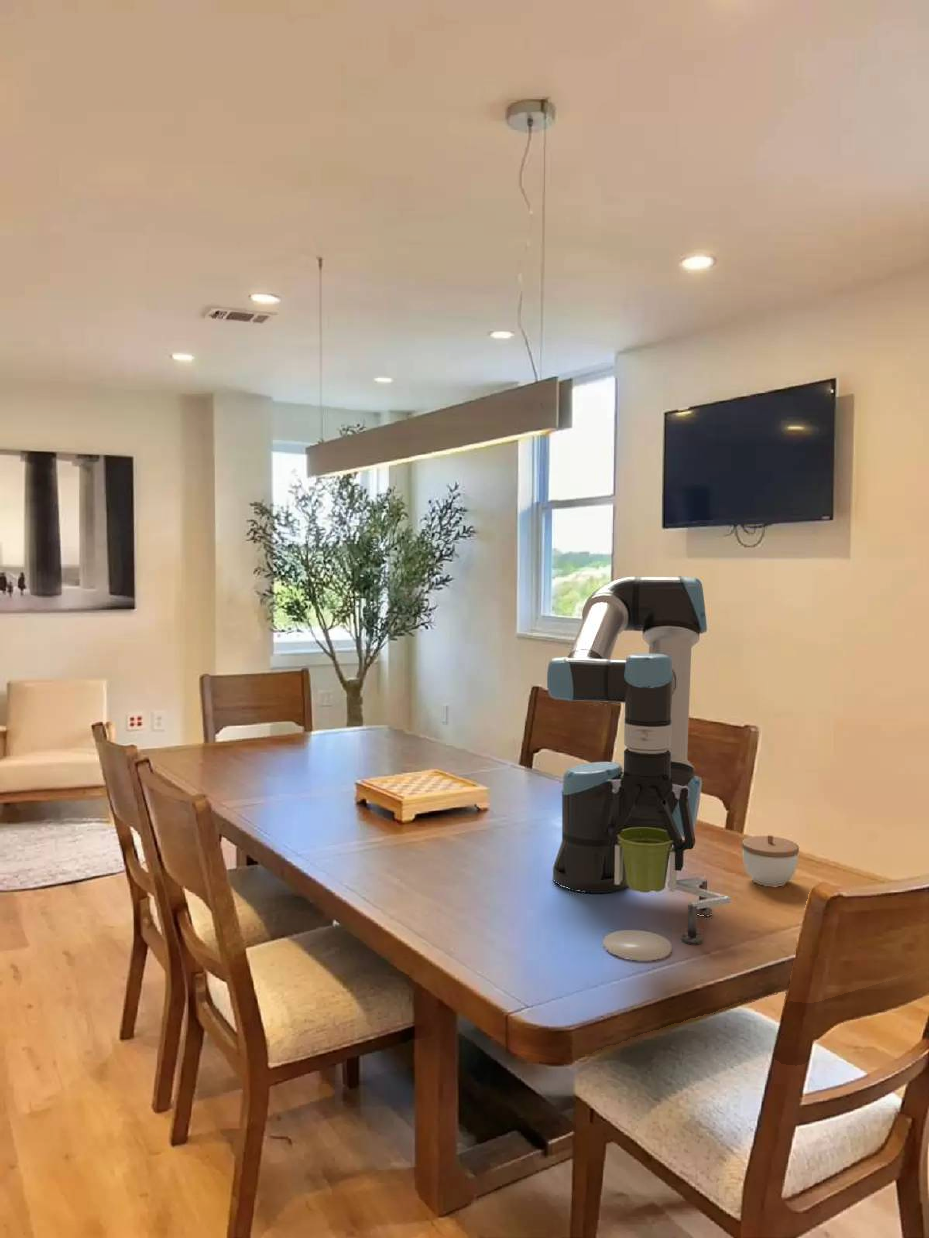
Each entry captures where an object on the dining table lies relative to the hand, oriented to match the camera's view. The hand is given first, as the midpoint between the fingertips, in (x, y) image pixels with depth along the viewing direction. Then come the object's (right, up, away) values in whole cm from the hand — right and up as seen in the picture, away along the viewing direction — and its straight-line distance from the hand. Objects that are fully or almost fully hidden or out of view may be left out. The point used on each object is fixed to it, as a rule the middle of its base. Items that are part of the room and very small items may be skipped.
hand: (645, 885), depth 150 cm
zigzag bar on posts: (+11, -10, +9) cm, 17 cm away
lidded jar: (+31, -9, +31) cm, 45 cm away
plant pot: (0, 0, 0) cm, 0 cm away
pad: (-1, -10, 0) cm, 10 cm away
